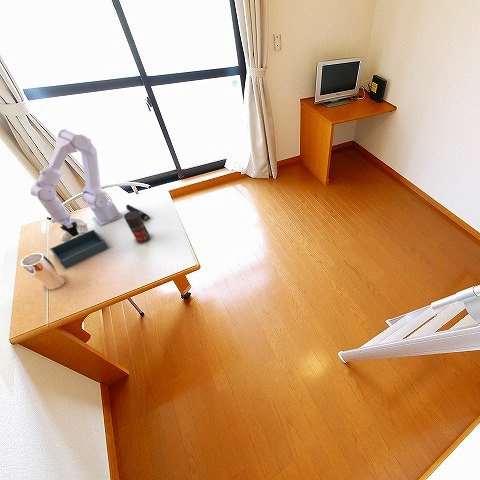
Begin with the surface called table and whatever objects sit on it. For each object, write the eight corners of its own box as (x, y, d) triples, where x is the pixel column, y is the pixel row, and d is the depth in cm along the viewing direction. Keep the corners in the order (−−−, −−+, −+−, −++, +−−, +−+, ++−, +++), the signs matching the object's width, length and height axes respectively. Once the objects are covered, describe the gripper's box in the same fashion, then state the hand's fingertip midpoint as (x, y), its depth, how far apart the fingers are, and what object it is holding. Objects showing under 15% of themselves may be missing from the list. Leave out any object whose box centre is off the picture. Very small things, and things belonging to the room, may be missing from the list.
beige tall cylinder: (43, 292, 110) (18, 268, 99) (46, 279, 114) (22, 255, 104) (65, 286, 113) (42, 263, 102) (67, 274, 117) (45, 250, 106)
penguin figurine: (83, 217, 129) (59, 235, 122) (93, 229, 136) (71, 247, 128) (72, 213, 130) (48, 231, 123) (83, 225, 137) (60, 242, 129)
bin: (98, 236, 133) (93, 229, 130) (108, 247, 129) (104, 241, 126) (55, 255, 123) (49, 248, 120) (65, 268, 119) (59, 262, 116)
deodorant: (133, 240, 133) (120, 217, 123) (143, 233, 137) (131, 209, 127) (143, 244, 132) (131, 221, 121) (153, 237, 136) (142, 213, 125)
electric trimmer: (132, 207, 150) (130, 202, 148) (150, 218, 145) (148, 213, 143) (126, 210, 148) (123, 206, 146) (144, 222, 143) (142, 217, 141)
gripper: (38, 205, 121) (56, 228, 131) (51, 221, 115) (69, 243, 125) (57, 199, 125) (73, 221, 135) (70, 213, 119) (86, 235, 129)
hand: (72, 231), depth 130 cm, fingers closed on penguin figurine, 6 cm apart
